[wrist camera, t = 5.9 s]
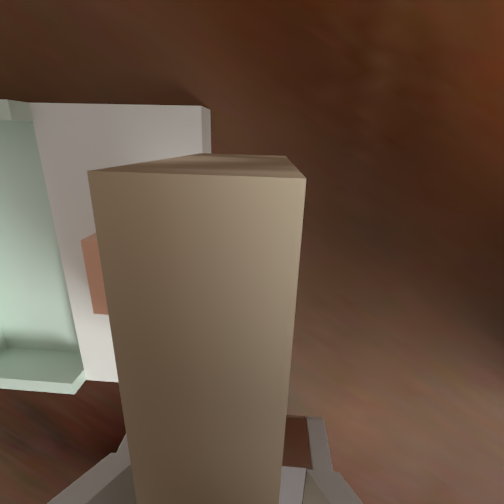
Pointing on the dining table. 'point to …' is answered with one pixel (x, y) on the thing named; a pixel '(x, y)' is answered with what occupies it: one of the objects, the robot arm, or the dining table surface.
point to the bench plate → (78, 192)
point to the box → (31, 270)
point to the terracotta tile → (94, 274)
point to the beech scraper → (202, 319)
